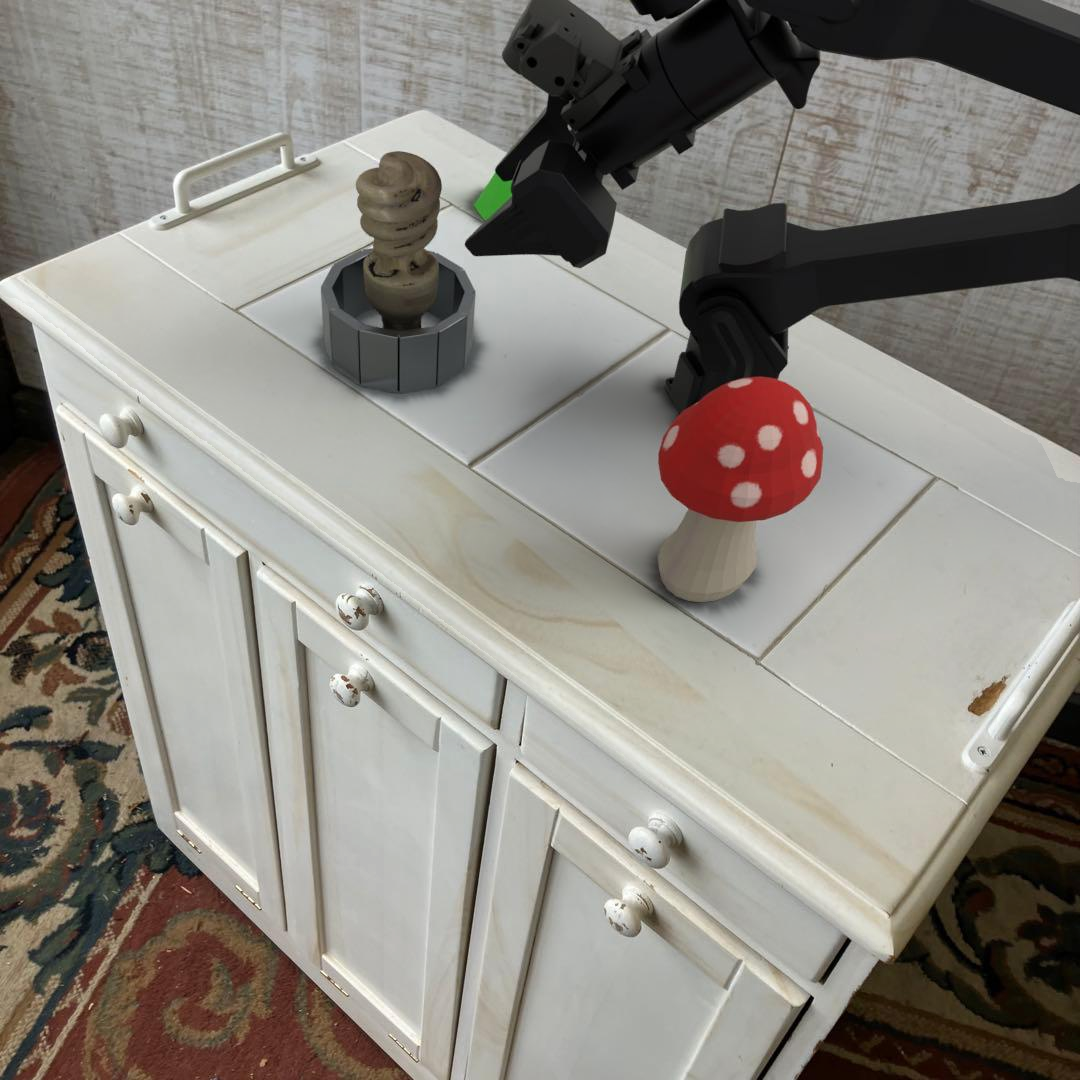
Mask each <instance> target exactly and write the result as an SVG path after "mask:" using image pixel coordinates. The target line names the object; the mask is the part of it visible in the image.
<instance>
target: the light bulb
mask: <svg viewBox="0 0 1080 1080" xmlns="http://www.w3.org/2000/svg"><path fill="white" fill-rule="evenodd" d="M442 184H443V183H442V180H441V177H440V174H439V172H438V170H437V169H436V167H434V166H433V165H432V164H431V163H430V162H429V161H427V160H426V159H424V158H423V157H421V156H419V155H417V154H414V153H411V152H406V151H401V150H396V151H395V150H394V151H389V152H386V153H384V154H383V155H382V156H381V158H380V160H379V163H378V167H372V168H369V169H366V170H364V171H363V172H361V174H359V175H358V177H357V179H356V181H355V189H356V192H357V193H358V196H357V199H356V206H357V208H358V210H359V212H360V213H361V216H360V218H359V224H360V228H361V229H362V231H363V232H364V233H365V234H366V235H367V236H369V237H370V238H373V244H372V248H373V249H374V250H373V251H372V252H371V253H370V254H368V255H367V257H366V258H365V260H364V264H363V270H364V284H365V292H366V295H367V298H368V301H369V302H370V304H371V305H372V307H373V308H374V310H375V311H376V312H377V313H378V314H379V316H381V323H382V328H386V329H391V330H396V331H403V330H410V329H417V328H422V318H423V316H425V314H426V313H428V312H427V311H428V310H429V309H430V308H431V307H432V306H433V304H434V302H435V300H436V296H437V290H438V278H439V265H438V262H437V259H436V258H435V256H434V255H433V254H432V253H431V252H429V251H430V250H428V249H425V248H426V247H427V246H428V245H429V244H430V243H432V241H433V239H434V238H435V236H436V234H437V231H438V227H439V226H438V225H439V223H438V222H439V221H438V217H439V214H440V210H441V200H440V198H441V195H442V190H443V185H442Z"/></svg>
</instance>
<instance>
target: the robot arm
mask: <svg viewBox="0 0 1080 1080" xmlns="http://www.w3.org/2000/svg"><path fill="white" fill-rule="evenodd" d="M629 2H630V3H631V5H632V6H633V8H634V9H635V11H636V13H637V14H638V15H640V16H642V17H643V16H649V15H650V16H651V18H652V19H653V21H654V22H659V21H662V20H663V19H666V20H672V19H675V20H674V21H673V22H671V23H669V24H668V25H666V27H664V28H663V29H661V30H660V31H658V32H656V33H655V34H653V35H651V33H650V31H649V30H648V28H645V29H644V30H643V31H640V29H636V30H634V31H632V32H631V33H630V34H628V35H627V36H626V37H624V38H622V39H618V38H617V37H616V36H615V35H613V34H612V33H611V32H610V31H609V30H607V29H606V28H605V26H603V24H601V23H600V22H599V21H598V20H597V19H595V18H594V17H593V16H592V15H590V14H589V13H588V12H586V11H584V9H582V8H581V7H579V6H578V5H576V4H575V3H573V2H572V1H570V0H529V2H528V4H527V5H526V7H525V9H524V10H523V12H522V14H521V15H520V17H519V19H518V20H517V22H516V24H515V25H514V28H513V30H512V31H511V33H510V36H509V38H508V41H507V42H506V44H505V46H504V48H503V50H502V52H501V57H502V60H503V62H504V64H505V65H506V66H507V67H508V68H509V69H511V71H513V72H515V73H516V74H517V75H519V76H522V78H524V79H526V80H527V81H528V82H530V83H531V84H533V85H534V86H536V87H537V88H539V89H540V90H542V91H543V92H545V93H546V94H547V101H546V107H545V108H544V109H543V110H542V111H541V112H540V114H539V115H538V116H537V118H536V119H535V120H534V122H532V123H531V125H530V126H529V127H528V128H527V129H526V130H525V132H524V133H523V134H522V135H521V136H520V137H519V139H518V140H516V142H515V143H514V146H513V145H512V146H513V147H512V146H511V147H512V148H511V147H510V149H511V150H510V149H509V151H508V152H507V153H506V154H505V155H504V157H503V158H502V159H501V160H500V161H499V162H498V164H497V165H496V166H495V169H494V173H495V172H496V174H497V175H498V176H499V177H500V179H501V180H502V181H504V182H507V181H511V180H512V183H511V194H512V196H511V197H510V198H509V199H508V200H507V201H506V202H505V203H504V204H503V205H502V206H501V207H500V208H499V209H498V210H497V211H495V212H494V213H493V214H492V215H491V216H490V217H489V218H488V219H487V220H486V221H485V220H484V221H483V223H482V224H480V226H478V227H477V228H476V230H474V232H472V234H470V235H469V236H468V238H466V240H465V242H464V247H465V248H466V249H467V251H468V252H469V253H470V254H471V255H472V256H474V257H496V256H500V257H501V256H521V255H522V256H525V255H526V256H528V255H530V256H532V255H535V256H537V255H538V256H555V257H557V256H559V257H561V258H562V260H564V261H565V262H567V263H569V264H570V265H571V266H572V268H577V269H582V268H584V267H586V266H587V265H589V264H591V263H592V262H595V261H596V260H597V259H599V258H601V257H602V256H604V255H606V254H607V250H608V247H609V243H610V238H611V235H612V232H613V231H612V230H613V226H614V221H615V216H616V211H617V205H618V203H617V201H616V200H615V199H614V198H613V196H612V194H611V193H610V192H609V191H608V189H607V188H606V187H605V186H604V185H603V181H604V178H605V176H608V175H609V174H610V176H611V177H612V179H613V180H614V181H615V183H616V184H617V185H618V187H619V188H620V189H621V190H622V191H624V190H625V189H627V188H629V187H630V186H632V185H633V184H635V183H636V182H637V179H638V174H639V170H640V167H641V166H642V165H644V164H645V163H647V162H648V161H650V160H651V159H653V158H655V157H656V156H658V155H659V154H661V153H664V151H666V150H668V149H670V147H673V150H675V152H676V153H677V154H678V155H679V156H680V155H682V153H685V152H686V151H687V150H689V149H691V148H693V147H694V145H695V139H696V135H697V134H696V133H697V131H698V130H699V129H701V128H702V127H704V126H706V125H707V124H709V123H710V122H712V121H714V120H716V119H717V118H719V117H720V116H721V115H723V114H724V113H726V112H728V111H729V110H731V109H732V108H734V107H735V106H738V105H739V104H740V103H742V102H743V101H745V100H747V99H749V98H750V97H751V96H753V95H755V94H756V93H758V92H759V91H761V90H763V89H765V88H766V87H767V86H769V85H771V84H772V83H774V82H775V81H776V82H777V84H778V85H779V87H780V89H781V90H782V92H783V94H784V95H785V96H786V98H787V101H789V103H790V104H791V106H792V108H793V109H795V110H801V109H803V108H805V107H806V105H807V100H808V95H809V94H808V93H809V89H810V86H811V82H812V80H813V77H814V76H815V74H816V71H817V70H818V69H819V67H820V65H821V52H824V53H829V54H835V55H840V56H841V55H842V56H847V57H852V58H853V57H854V58H858V59H864V60H869V61H876V62H877V61H888V60H889V61H890V60H903V59H918V60H923V61H927V62H934V63H938V64H941V65H943V66H946V67H949V68H951V69H954V70H957V71H958V72H962V73H964V74H967V75H970V76H972V77H975V78H979V79H981V80H984V81H986V82H989V83H991V84H994V85H996V86H999V87H1002V88H1004V89H1007V90H1010V91H1013V92H1016V93H1018V94H1021V95H1024V96H1026V97H1029V98H1032V99H1034V100H1037V101H1040V102H1042V103H1045V104H1048V105H1050V106H1053V107H1056V108H1059V109H1062V110H1064V111H1067V112H1069V113H1072V114H1075V115H1078V116H1080V14H1079V13H1077V12H1074V11H1072V10H1069V9H1067V8H1064V7H1061V6H1058V5H1056V4H1054V3H1050V2H1048V1H1046V0H629ZM677 17H678V18H677ZM676 18H677V19H676ZM1052 279H1066V280H1067V279H1068V280H1072V281H1075V282H1079V283H1080V182H1079V183H1078V184H1075V185H1074V186H1073V187H1071V188H1069V189H1067V190H1066V191H1064V192H1062V193H1059V194H1057V195H1053V196H1048V197H1041V198H1034V199H1028V200H1027V199H1026V200H1020V201H1013V202H1006V203H1000V204H993V205H986V206H980V207H972V208H966V209H959V210H951V211H946V212H944V211H943V212H938V213H932V214H925V215H918V216H912V217H904V218H898V219H890V220H883V221H877V222H871V223H870V222H869V223H864V224H856V225H850V226H842V227H836V228H830V229H829V228H828V229H812V228H808V227H804V226H801V225H798V224H795V223H792V222H788V205H787V204H786V203H785V202H773V203H770V204H767V205H763V206H760V207H757V208H753V209H752V208H751V209H748V210H747V209H744V210H743V209H742V210H738V209H733V208H728V207H727V208H724V209H723V215H722V218H718V219H714V220H710V221H708V222H706V223H704V224H702V225H701V226H700V227H699V229H698V230H697V231H696V232H695V234H694V235H693V236H692V238H690V240H689V242H688V244H687V248H686V251H685V254H684V262H683V269H682V277H681V285H680V290H679V291H680V292H679V299H678V314H679V317H680V319H681V322H682V325H683V326H684V327H685V328H686V329H687V330H688V331H689V335H688V340H687V343H686V347H685V351H681V352H680V354H679V356H678V360H677V364H676V367H675V372H674V375H673V377H667V378H666V379H665V381H664V388H665V389H666V391H667V393H668V394H669V398H670V399H671V401H672V402H673V404H674V406H675V407H676V409H677V411H678V412H679V415H680V414H681V412H682V411H683V410H685V409H687V408H689V407H690V406H692V405H694V404H695V403H697V402H699V401H700V400H701V399H702V398H703V397H704V396H705V395H707V394H708V393H709V392H711V391H713V390H715V389H716V388H718V387H720V386H722V385H724V384H726V383H728V382H731V381H734V380H738V379H742V378H747V377H768V378H774V379H777V380H779V378H780V375H781V373H782V371H783V370H784V369H785V368H786V367H787V366H788V364H789V349H790V346H789V328H791V327H794V326H795V325H796V324H798V323H799V322H802V320H805V319H806V318H807V317H810V316H811V315H812V314H814V313H816V312H818V311H819V310H822V309H825V308H830V307H838V306H846V305H854V304H862V303H863V304H864V303H869V302H878V301H886V300H895V299H902V298H909V297H917V296H926V295H934V294H942V293H949V292H950V293H951V292H957V291H964V290H966V291H967V290H973V289H974V290H975V289H982V288H990V287H998V286H1005V285H1014V284H1020V283H1022V284H1023V283H1030V282H1036V281H1037V282H1038V281H1045V280H1052Z"/></svg>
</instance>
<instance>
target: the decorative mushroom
mask: <svg viewBox="0 0 1080 1080" xmlns="http://www.w3.org/2000/svg"><path fill="white" fill-rule="evenodd" d="M823 458H824V445H823V443H822V440H821V436H820V432H819V429H818V424H817V420H816V417H815V413H814V410H813V408H812V406H811V404H810V402H809V401H808V400H807V399H806V397H805V396H804V395H803V394H802V393H801V391H800V390H799V389H797V388H796V387H794V386H792V385H791V384H789V383H787V382H785V381H784V380H780V379H778V380H777V379H774V378H768V377H747V378H742V379H738V380H734V381H731V382H728V383H726V384H724V385H722V386H720V387H718V388H716V389H715V390H713V391H711V392H709V393H708V394H707V395H705V396H704V397H703V398H702V399H701V400H700V401H699V402H697V403H695V404H694V405H692V406H690V407H689V408H687V409H685V410H683V411H682V412H681V414H680V413H679V415H678V416H677V417H676V418H675V419H674V421H672V423H671V424H670V426H669V427H668V429H667V430H666V431H665V433H664V435H663V437H662V439H661V444H660V447H659V450H658V457H657V459H658V460H657V463H658V470H659V476H660V481H661V482H662V484H663V485H664V487H665V489H666V490H667V491H668V493H669V495H670V496H671V497H672V498H674V499H675V500H676V501H677V502H679V503H680V504H681V505H683V506H684V507H686V509H687V511H686V512H685V514H684V516H683V519H682V520H681V522H680V523H679V525H678V527H677V528H676V530H675V531H674V532H673V533H672V534H670V536H668V538H667V539H666V540H665V541H664V543H662V545H661V546H660V549H659V552H658V555H657V564H658V570H659V575H660V581H661V582H662V583H663V586H664V587H665V589H666V590H667V591H668V592H669V593H671V594H672V595H674V597H677V598H679V599H683V600H685V601H688V602H693V603H694V602H696V603H706V602H714V601H717V600H721V599H724V598H727V597H729V596H730V595H731V594H732V593H734V592H736V590H738V589H740V587H741V586H742V585H743V584H744V583H745V582H746V581H747V580H748V578H749V577H750V576H751V575H752V574H753V572H754V571H755V569H756V566H757V562H758V559H759V556H758V550H757V545H756V542H755V537H756V526H757V522H758V521H766V520H769V519H772V518H775V517H778V516H780V515H784V514H786V513H788V512H790V511H791V510H793V509H795V508H796V507H797V506H799V505H800V504H801V503H803V502H804V501H805V500H806V499H807V498H808V497H809V496H810V495H811V493H812V492H813V490H814V489H815V487H816V486H817V484H818V483H819V481H820V480H821V475H822V469H823V461H824V459H823Z"/></svg>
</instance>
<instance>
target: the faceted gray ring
mask: <svg viewBox="0 0 1080 1080" xmlns="http://www.w3.org/2000/svg"><path fill="white" fill-rule="evenodd" d="M373 250H374V249H373V247H372V248H365V249H361V250H358V251H356V252H354V253H352V254H349V255H348V256H346V257H344V258H343V259H341V260H339V261H337V262H335V263H334V264H333V265H331V268H330V269H329V271H328V273H327V274H326V277H325V278H324V280H323V282H322V284H321V286H320V300H321V313H322V331H323V344H324V348H325V350H326V353H327V356H328V360H330V364H331V367H333V369H334V370H336V371H338V372H339V373H340V374H341V375H343V376H345V377H346V378H348V379H349V380H350V381H352V382H353V383H355V384H356V385H357V386H360V387H362V388H367V389H372V390H377V391H382V392H387V393H393V394H398V393H399V394H408V393H415V392H419V391H420V392H421V391H425V390H432V389H433V390H434V389H436V388H439V387H440V386H442V385H443V384H445V383H447V382H448V381H449V380H452V379H453V378H454V377H456V376H457V375H459V374H461V373H462V372H463V371H464V370H465V368H466V365H467V364H468V360H469V357H470V354H471V352H472V348H473V338H474V326H475V325H474V323H475V309H476V290H475V288H474V286H473V284H472V281H471V279H470V278H469V276H468V274H467V272H466V269H464V268H463V267H461V266H460V265H458V264H456V263H455V262H454V261H452V260H450V259H448V258H447V257H445V256H443V255H442V254H440V253H438V252H435V251H431V250H428V251H429V252H431V253H432V254H433V255H434V256H435V258H436V259H437V262H438V265H439V278H438V290H437V296H436V300H435V302H434V304H433V306H432V307H431V308H430V309H429V310H428V311H427V312H426V313H430V314H431V315H433V316H435V317H436V318H438V319H439V320H441V321H439V322H438V323H436V324H434V325H432V326H426V327H425V326H424V327H421V328H417V329H410V330H403V331H396V330H391V329H386V328H383V327H381V326H379V327H378V326H375V325H369V324H365V323H363V322H361V321H360V320H358V319H357V317H359V316H361V315H362V314H364V313H366V312H368V311H372V310H375V309H374V308H373V307H372V305H371V304H370V302H369V301H368V298H367V295H366V292H365V284H364V270H363V264H364V260H365V258H366V257H367V255H368V254H370V253H371V252H372V251H373Z"/></svg>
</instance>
